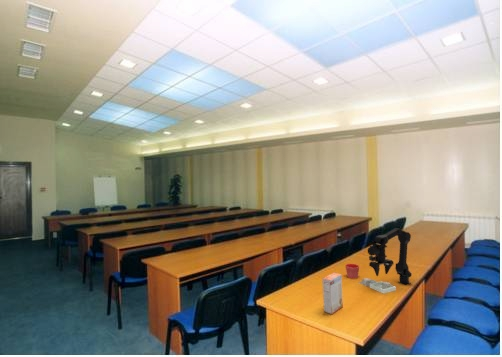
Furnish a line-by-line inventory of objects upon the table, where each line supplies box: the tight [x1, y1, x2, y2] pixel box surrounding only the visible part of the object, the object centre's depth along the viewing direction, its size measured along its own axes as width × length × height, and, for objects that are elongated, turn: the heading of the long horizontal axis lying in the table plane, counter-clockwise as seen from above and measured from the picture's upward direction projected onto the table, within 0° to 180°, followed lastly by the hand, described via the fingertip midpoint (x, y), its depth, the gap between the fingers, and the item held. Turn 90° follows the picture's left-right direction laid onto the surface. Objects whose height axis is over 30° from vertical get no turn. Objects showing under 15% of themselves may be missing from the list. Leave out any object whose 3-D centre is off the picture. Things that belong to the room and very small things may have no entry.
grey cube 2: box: [362, 277, 371, 287], centre depth 204 cm, size 4×4×4 cm
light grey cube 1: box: [382, 281, 391, 289], centre depth 195 cm, size 4×4×4 cm
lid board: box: [358, 278, 378, 286], centre depth 209 cm, size 14×11×1 cm
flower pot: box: [345, 263, 360, 279], centre depth 222 cm, size 11×11×10 cm
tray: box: [369, 281, 397, 294], centre depth 196 cm, size 12×12×3 cm
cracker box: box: [321, 272, 344, 315], centre depth 168 cm, size 14×6×21 cm, turn 134°
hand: (381, 275), depth 197 cm, fingers open, 9 cm apart
